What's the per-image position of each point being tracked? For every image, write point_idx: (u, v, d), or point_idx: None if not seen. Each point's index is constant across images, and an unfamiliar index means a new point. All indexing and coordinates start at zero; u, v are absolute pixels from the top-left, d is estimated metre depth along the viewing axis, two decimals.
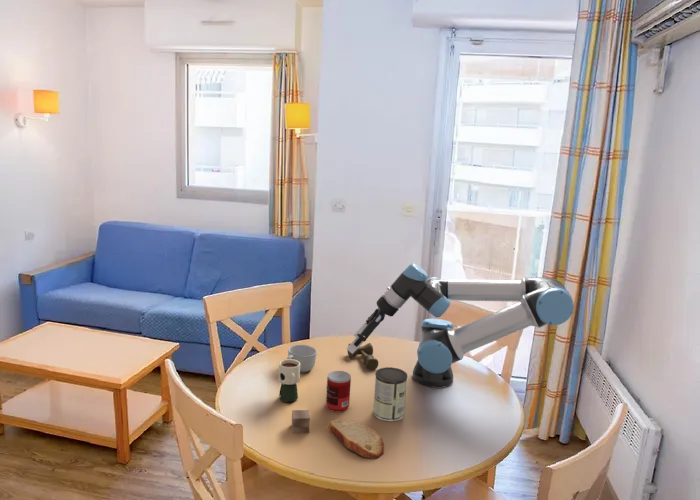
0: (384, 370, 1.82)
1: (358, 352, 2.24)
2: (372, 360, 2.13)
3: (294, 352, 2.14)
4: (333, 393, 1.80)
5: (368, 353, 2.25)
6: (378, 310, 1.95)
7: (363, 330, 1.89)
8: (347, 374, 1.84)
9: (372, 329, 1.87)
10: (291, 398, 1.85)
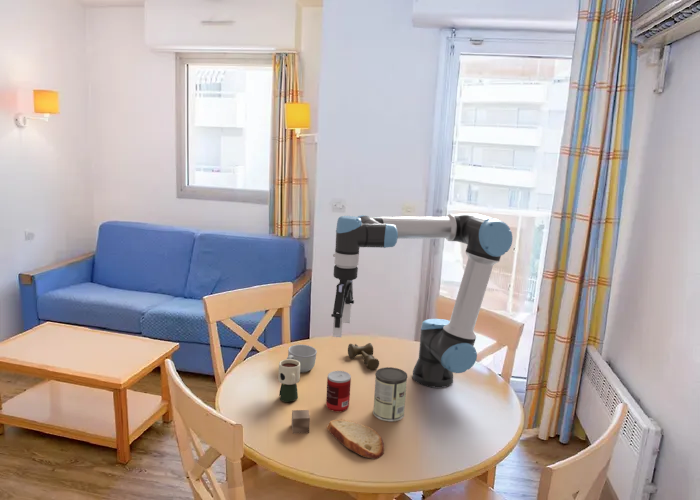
0: (384, 370, 1.82)
1: (358, 352, 2.24)
2: (373, 360, 2.13)
3: (294, 352, 2.14)
4: (333, 393, 1.80)
5: (368, 353, 2.25)
6: None
7: None
8: (347, 374, 1.84)
9: (340, 301, 1.69)
10: (291, 398, 1.85)
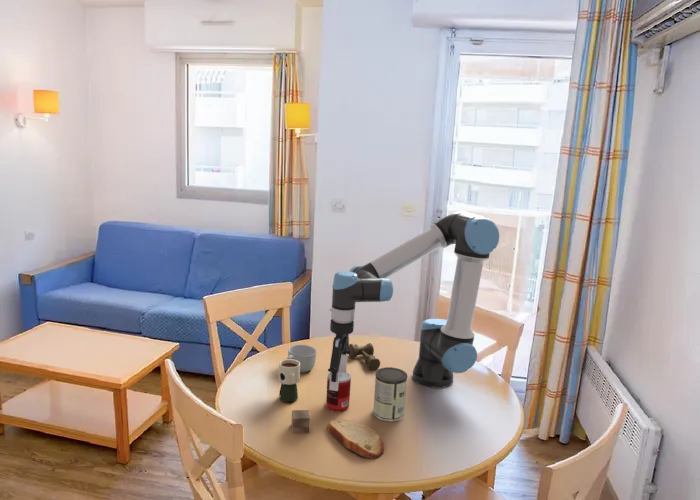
0: (384, 370, 1.82)
1: (359, 352, 2.24)
2: (374, 360, 2.13)
3: (294, 352, 2.14)
4: (333, 393, 1.80)
5: (369, 353, 2.25)
6: None
7: None
8: (347, 374, 1.84)
9: (337, 356, 1.72)
10: (291, 398, 1.85)
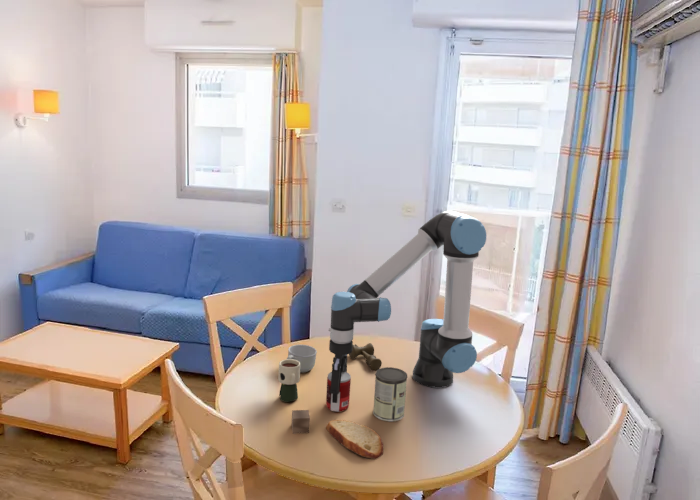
0: (384, 370, 1.82)
1: (359, 352, 2.24)
2: (376, 360, 2.13)
3: (294, 352, 2.14)
4: None
5: (369, 353, 2.25)
6: None
7: None
8: (347, 374, 1.84)
9: (337, 379, 1.75)
10: (291, 398, 1.85)
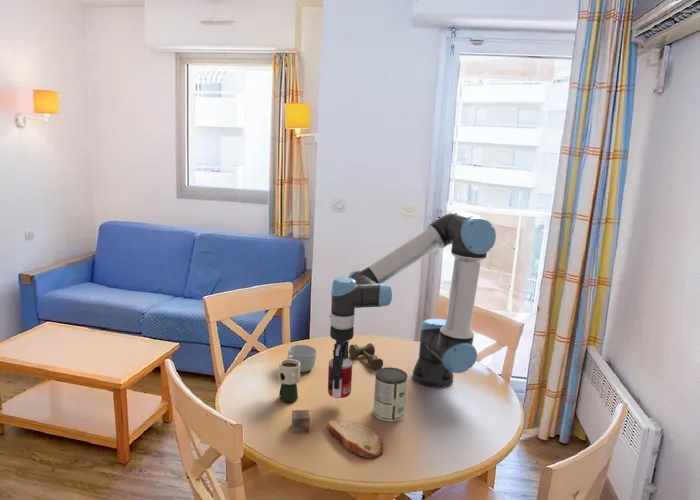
0: (384, 370, 1.82)
1: (360, 353, 2.24)
2: (377, 360, 2.13)
3: (294, 352, 2.14)
4: None
5: (370, 353, 2.25)
6: None
7: None
8: (348, 360, 1.83)
9: (338, 365, 1.74)
10: (291, 398, 1.85)
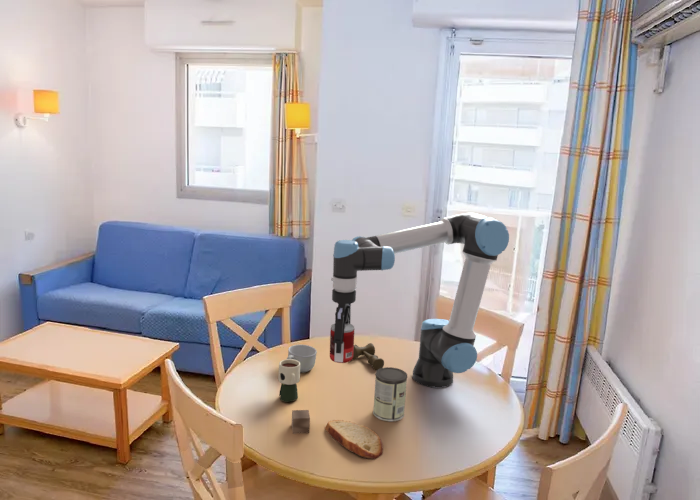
0: (384, 370, 1.82)
1: (360, 353, 2.23)
2: (378, 360, 2.13)
3: (294, 352, 2.14)
4: None
5: (370, 353, 2.25)
6: None
7: None
8: (351, 325, 1.81)
9: (340, 328, 1.72)
10: (291, 398, 1.85)
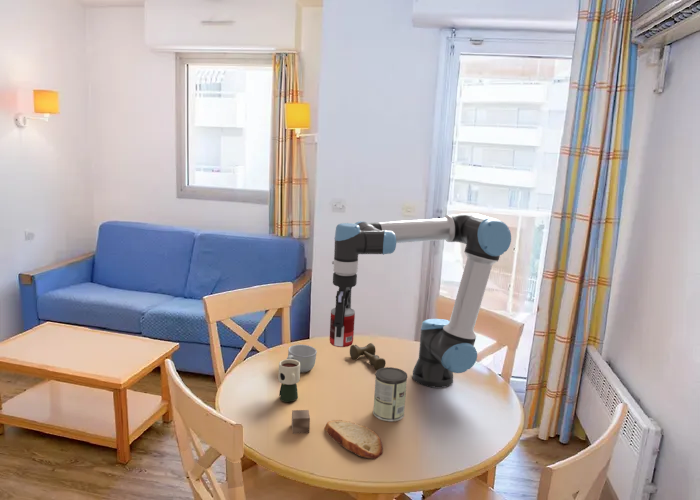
0: (384, 370, 1.82)
1: (361, 353, 2.23)
2: (380, 360, 2.13)
3: (294, 352, 2.14)
4: None
5: (371, 353, 2.25)
6: None
7: None
8: (351, 309, 1.79)
9: (341, 311, 1.71)
10: (291, 398, 1.85)
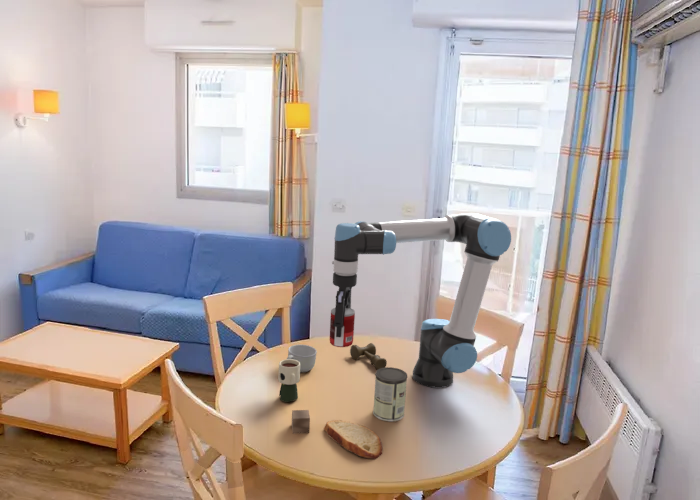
0: (384, 370, 1.82)
1: (362, 353, 2.23)
2: (381, 360, 2.14)
3: (294, 352, 2.14)
4: None
5: (371, 353, 2.25)
6: None
7: None
8: (351, 309, 1.79)
9: (341, 311, 1.71)
10: (291, 398, 1.85)
